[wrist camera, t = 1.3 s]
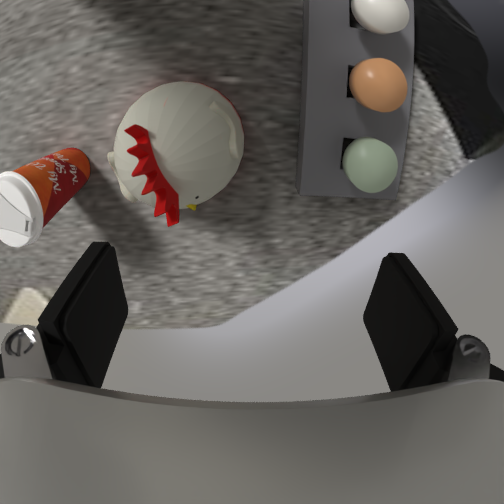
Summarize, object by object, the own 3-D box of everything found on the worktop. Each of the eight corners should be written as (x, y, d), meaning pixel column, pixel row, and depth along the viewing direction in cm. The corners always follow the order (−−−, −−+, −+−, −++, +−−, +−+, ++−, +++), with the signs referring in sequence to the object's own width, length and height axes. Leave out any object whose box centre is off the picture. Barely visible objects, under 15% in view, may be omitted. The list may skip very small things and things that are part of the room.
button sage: (336, 129, 29) (352, 137, 24) (380, 134, 29) (401, 144, 24) (331, 175, 31) (345, 191, 27) (374, 178, 31) (392, 194, 27)
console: (303, -24, 21) (308, -33, 19) (401, -2, 22) (412, -7, 19) (295, 186, 35) (299, 195, 32) (386, 191, 35) (396, 200, 33)
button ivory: (341, -10, 20) (357, -23, 16) (386, 2, 20) (408, -8, 16) (341, 32, 23) (358, 24, 19) (386, 42, 23) (409, 38, 19)
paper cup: (105, 151, 31) (40, 194, 19) (89, 204, 35) (33, 263, 23) (56, 131, 29) (-17, 165, 17) (44, 183, 33) (-19, 232, 21)
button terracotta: (340, 56, 24) (357, 52, 20) (385, 65, 25) (408, 64, 20) (338, 103, 27) (354, 107, 23) (382, 110, 27) (404, 116, 23)
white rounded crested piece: (156, 213, 36) (115, 288, 23) (107, 116, 29) (31, 145, 16) (261, 172, 34) (274, 233, 21) (217, 62, 27) (197, 43, 14)
